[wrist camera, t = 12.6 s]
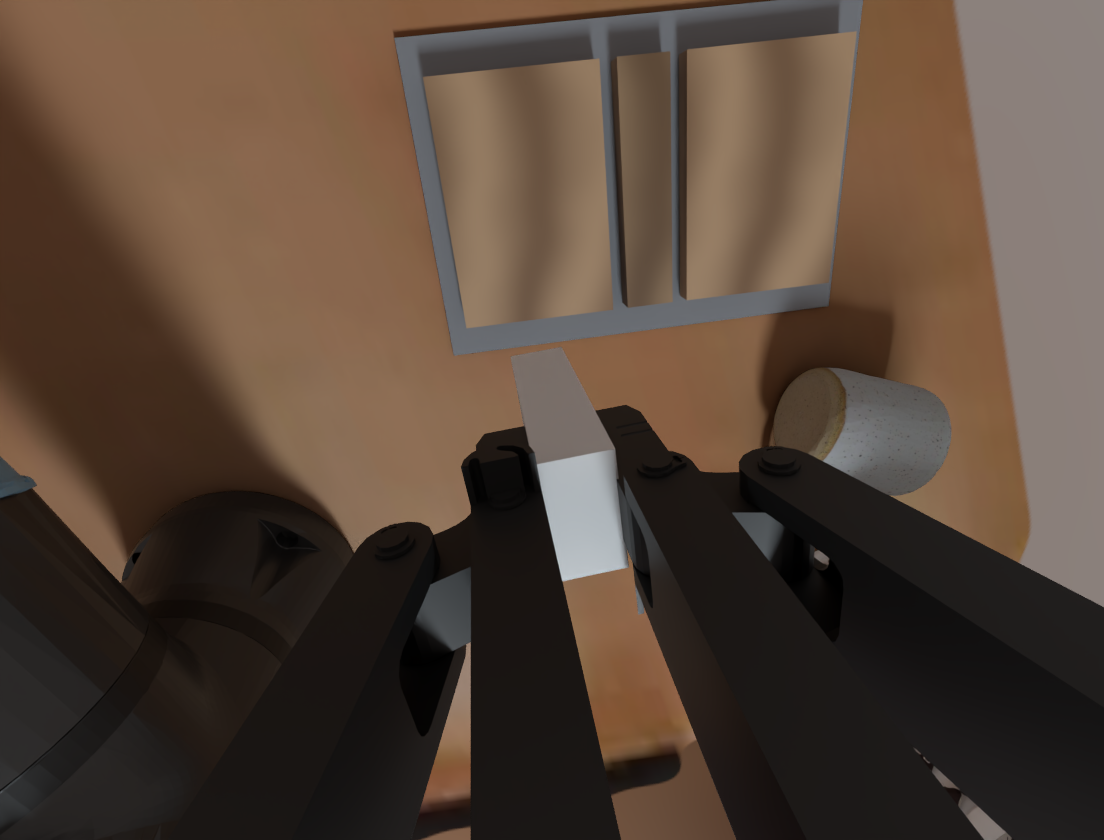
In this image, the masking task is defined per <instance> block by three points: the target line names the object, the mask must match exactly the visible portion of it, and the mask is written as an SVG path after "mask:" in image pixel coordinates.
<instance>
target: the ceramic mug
mask: <svg viewBox="0 0 1104 840" xmlns="http://www.w3.org/2000/svg"><path fill="white" fill-rule="evenodd" d="M773 430H774V440H775V444H776V446H782V447H786V448H792V449H797V450H800V451H802V452H805V453H808V454H810V455H812V456H814V457H816V458H818V459H819V460H821V461H823V462H825V463H827V464H829V465H831V466H833V467H835V468H837V469H839V470H841V471H843V472H844V473H846V474H848V475H850V476H852V477H854V478H856V479H858V480H860V481H862V482H864V483H866V484H868V485H869V486H871V487H873V488H875V489H877V490H879V491H881V492H883V493H885V494H887V495H893V496H897V495H903V494H907V493H910V492H913V491H915V490H917V489H918V488H920V487H922V486H923V485H925V484H926V483H927V482H929V481H930V480H931V479H932V478H933V477H934V475H935V474H936V472H937V471H938V470H939V469H940V467H941V466H942V464H943V462H944V460H945V458H946V456H947V453H948V449H949V446H950V441H951V424H950V419H949V415H948V412H947V409H946V408H945V406H944V404H943V403H942V401H941V400H940V399H939V398H938V397H937V396H936V395H934V394H933V393H931V392H930V391H928V390H926V389H924V388H920V387H917V386H913V385H908V384H903V383H899V382H895V381H891V380H887V379H883V378H879V377H874V376H869V375H865V374H861V373H858V372H853V371H849V370H845V369H840V368H814V369H810V370H808V371H806V372H804V373H802V374H801V375H800V376H798V377H797V378H796V379H795V380H794V381H793V382H792V383H791V384H790V385H789V386H788V387H787V389H786V390H785V392H784V394H783V395H782V397H781V399H780V401H779V404H778V407H777V410H776V413H775V417H774V426H773Z"/></svg>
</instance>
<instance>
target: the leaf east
mask: <svg viewBox="0 0 1104 840" xmlns="http://www.w3.org/2000/svg"><path fill="white" fill-rule="evenodd" d="M856 33H857V31H855V32H846V33H836V34H827V35H818V36H808V37H799V38H790V39H780V40H771V41H761V42H752V43H743V44H733V45H724V46H715V47H705V48H696V49H687V50H685V51H684V52H682V53H681V54H679V196H680V296H681V297H683V298H684V299H685V300H693V299H701V298H709V297H718V296H726V295H734V294H742V293H750V292H758V291H766V290H774V289H782V288H790V287H798V286H807V285H815V284H823V283H829V277H830V268H831V259H832V250H833V241H834V232H835V223H836V214H837V205H838V196H839V187H840V178H841V169H842V160H843V151H844V142H845V133H846V124H847V115H848V106H849V97H850V88H851V79H852V69H853V60H854V51H855V42H856Z"/></svg>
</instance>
